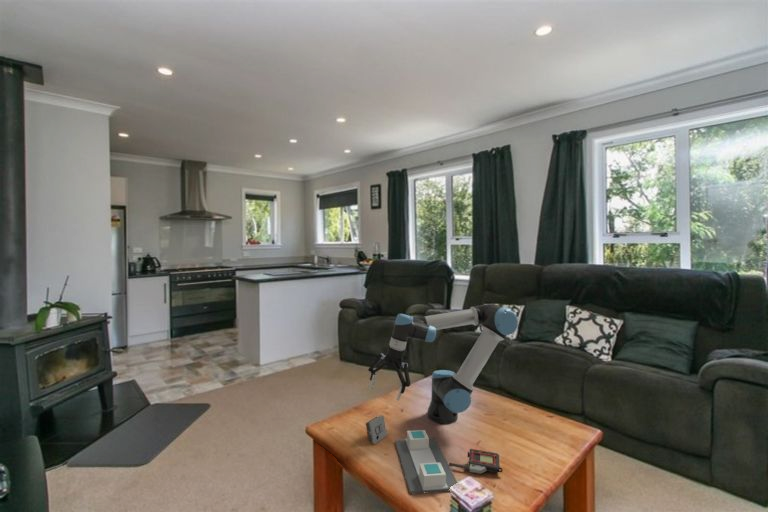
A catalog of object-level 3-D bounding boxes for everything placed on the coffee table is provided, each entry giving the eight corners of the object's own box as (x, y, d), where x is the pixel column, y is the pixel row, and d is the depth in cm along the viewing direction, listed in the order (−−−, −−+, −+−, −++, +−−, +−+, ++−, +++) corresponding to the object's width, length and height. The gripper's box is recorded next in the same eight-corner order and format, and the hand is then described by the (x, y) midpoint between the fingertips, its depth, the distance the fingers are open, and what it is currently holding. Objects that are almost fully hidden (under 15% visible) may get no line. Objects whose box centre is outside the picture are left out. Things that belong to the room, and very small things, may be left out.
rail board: (434, 440, 157) (435, 427, 157) (459, 490, 126) (460, 474, 125) (395, 442, 155) (395, 429, 155) (410, 494, 123) (410, 478, 123)
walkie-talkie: (503, 474, 131) (448, 464, 137) (502, 482, 133) (448, 471, 138) (502, 453, 139) (450, 444, 144) (501, 460, 141) (450, 451, 146)
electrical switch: (374, 445, 152) (373, 423, 153) (365, 442, 156) (364, 420, 156) (387, 436, 160) (386, 415, 160) (378, 433, 163) (377, 413, 163)
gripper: (369, 340, 161) (357, 385, 160) (420, 359, 151) (407, 407, 151) (375, 338, 168) (363, 381, 167) (424, 356, 158) (412, 402, 158)
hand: (384, 393), depth 159 cm, fingers open, 13 cm apart
